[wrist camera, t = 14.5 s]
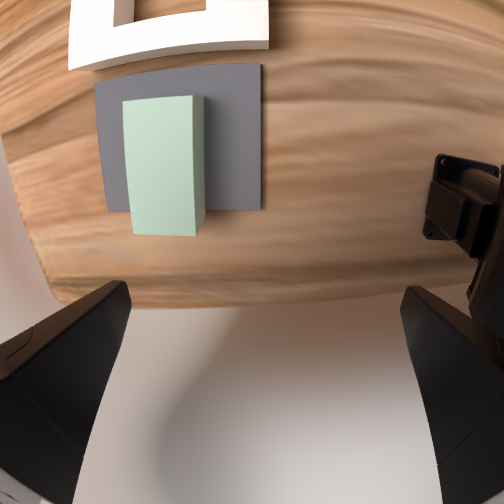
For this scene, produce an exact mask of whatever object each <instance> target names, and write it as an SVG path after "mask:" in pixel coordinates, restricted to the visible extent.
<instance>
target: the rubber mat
mask: <svg viewBox="0 0 504 504" xmlns="http://www.w3.org/2000/svg"><path fill="white" fill-rule="evenodd" d="M94 84H95V105H96V120H97V131H98V142H99V151H100V159H101V167H102V174H103V181H104V188H105V194H106V200H107V206H108V211H109V212H124V211H130V203H129V194H128V184H127V174H126V162H125V148H124V130H123V102H124V101H132V100H140V99H150V98H161V97H174V96H192V95H193V96H204V181H205V210H260V208H261V71H260V63H233V64H214V65H200V66H190V67H180V68H172V69H164V70H157V71H151V72H145V73H139V74H133V75H128V76H123V77H118V78H113V79H109V80H104V81H100V82H96V83H94Z"/></svg>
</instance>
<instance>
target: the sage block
mask: <svg viewBox="0 0 504 504" xmlns="http://www.w3.org/2000/svg"><path fill="white" fill-rule="evenodd" d="M123 130H124V148H125V162H126V174H127V184H128V194H129V203H130V211H131V219H132V226H133V233H134V234H152V235H177V236H196V235H197V233H198V231H199V229H200V227H201V225H202V223H203V221H204V219H205V181H204V96H193V95H192V96H174V97H161V98H150V99H140V100H132V101H124V102H123Z"/></svg>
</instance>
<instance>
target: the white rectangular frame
mask: <svg viewBox="0 0 504 504" xmlns="http://www.w3.org/2000/svg"><path fill="white" fill-rule="evenodd" d="M134 4H135V0H72V3H71V14H70V28H69V70H76V71H96V70H99V69H103V68H108V67H112V66H116V65H121V64H125V63H130V62H135V61H140V60H146V59H152V58H158V57H164V56H171V55H179V54H188V53H197V52H209V51H224V50H253V49H269V17H268V0H206V11H198V12H189V13H182V14H175V15H169V16H163V17H158V18H152V19H147V20H143V21H138V22H134Z"/></svg>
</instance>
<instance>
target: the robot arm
mask: <svg viewBox="0 0 504 504" xmlns="http://www.w3.org/2000/svg"><path fill="white" fill-rule="evenodd" d="M442 159H444V162H443V163H442V164H441V160H442ZM494 170H495V172H494V174H493V171H494ZM500 173H501V179H499V168H498V167H497V166H495V165H491V164H487V163H483V162H479V161H475V160H470V159H465V158H461V157H456V156H451V155H445V154H439V155H438V156H437V157H436V160H435V167H434V174H433V181H432V182H431V186H430V192H429V198H428V203H427V208H426V219H425V224H424V228H423V235H424V236H425V237H426V238H427V239H431V240H453V241H454V242H455V243H456V244H457V245H458V246H459V247H460V248H461V249H462V250H463V251H464V252H465V253H466V254H467V255H468V256H469V257H470V258H473V259H474V260H475V261H476V262H477V263H478V267H477V270H476V272H475V275H474V278H473V281H472V283H471V285H470V286H469V287H468V290H467V292H466V293H467V297H468V300H469V310H470V314H471V317H472V319H471V318H470V317H468V316H467V315H465V314H464V313H462V312H461V311H459V310H458V309H456V308H454V307H453V306H451V305H450V304H448V303H446V302H445V301H443V300H442V299H440V298H439V297H437V296H435V295H434V294H432V293H430V292H429V291H427V290H426V289H424V288H422V287H421V286H418V285H417V286H408V287H407V288H406V291H405V294H404V297H403V300H402V304H401V307H400V313H401V318H402V323H403V327H404V332H405V336H406V341H407V346H408V350H409V354H410V357H411V361H412V364H413V367H414V371H415V374H416V377H417V381H418V384H419V388H420V392H421V395H422V399H423V402H424V407H425V411H426V415H427V419H428V423H429V427H430V432H431V436H432V441H433V446H434V451H435V456H436V461H437V464H438V465H437V468H438V474H439V479H440V486H441V493H442V500H443V504H504V164H501V171H500ZM430 230H431V232H430V233H429V234H428V232H429V231H430ZM131 306H132V303H131V298H130V295H129V291H128V287H127V284H126V282H125V281H122V280H113V281H111V282H109V283H107V284H105V285H104V286H102V287H100V288H98V289H96V290H95V291H93V292H91V293H89V294H87V295H86V296H84V297H82V298H80V299H78V300H77V301H75V302H73V303H71V304H70V305H68V306H66V307H64V308H63V309H61V310H59V311H58V312H56V313H54V314H52V315H51V316H49V317H47V318H46V319H44V320H42V321H40V322H39V323H37V324H35V325H34V327H33V326H32V327H30V328H29V329H27V330H25V331H24V332H22V333H20V334H19V335H17V336H15V337H13V338H11V339H9V340H8V341H6V342H4V343H2V344H0V504H40V502H41V499H43V500H45V501H47V502H49V503H51V504H72V502H73V498H74V494H75V489H76V485H77V481H78V477H79V473H80V470H81V466H82V462H83V459H84V457H83V456H84V454H85V451H86V447H87V444H88V440H89V437H90V434H91V431H92V427H93V424H94V421H95V418H96V415H97V411H98V408H99V405H100V402H101V399H102V396H103V394H104V391H105V388H106V385H107V382H108V379H109V377H110V374H111V371H112V368H113V366H114V363H115V360H116V358H117V355H118V352H119V349H120V346H121V343H122V340H123V336H124V332H125V329H126V325H127V321H128V318H129V314H130V311H131Z"/></svg>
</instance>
